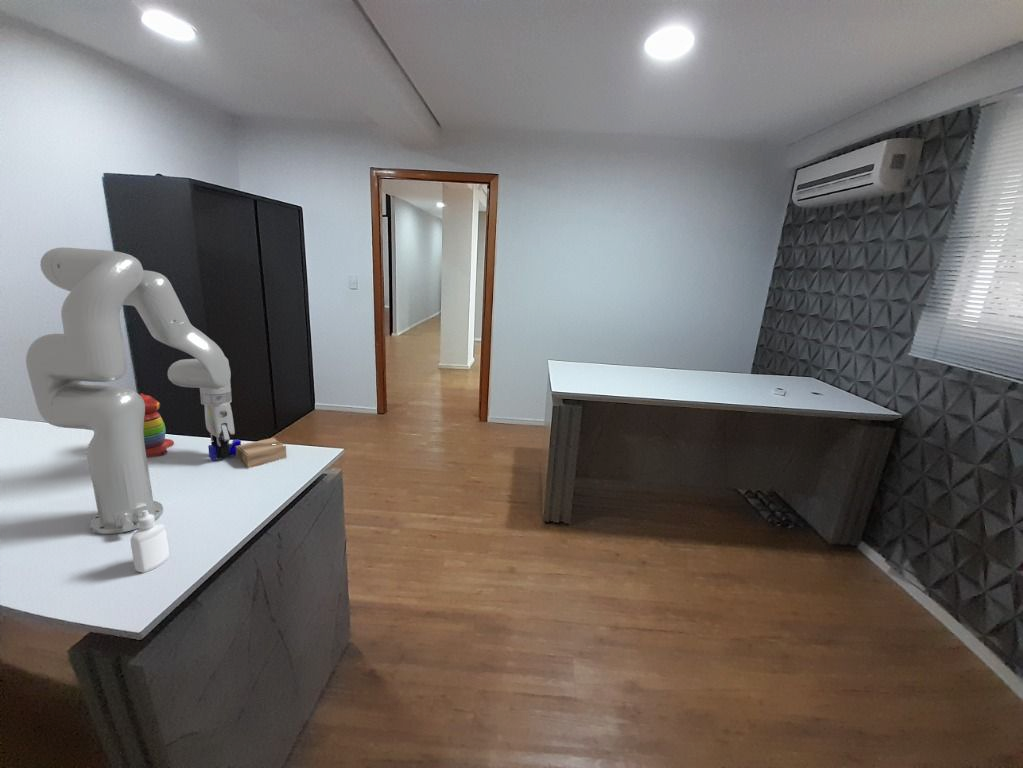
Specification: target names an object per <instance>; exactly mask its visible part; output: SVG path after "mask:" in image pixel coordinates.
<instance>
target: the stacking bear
mask: <svg viewBox="0 0 1023 768" xmlns="http://www.w3.org/2000/svg"><path fill="white" fill-rule="evenodd" d="M139 395H140V396H141V397H142V399H143V400H144V403H145V415H144V424H143V434H144V444H145V451H146V457H147V458H153V457H156V458H157V457H161V456H165V455H166V454H167V453H168V450H167V449H168V448H171V447H173V446H174V445H175V442H174V440H172V439H169V438H166V433H167V432H166V431H167V430H166V425H165V422H164V420H163V418H162V417H161V414H160V413H159V412H158V410H159V409H160V407H161V403H160V402H159V401H158V400H156V398H154V397H152V396H151V395H147V394H144V393H139Z"/></svg>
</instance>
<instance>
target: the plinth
mask: <svg viewBox="0 0 1023 768" xmlns="http://www.w3.org/2000/svg"><path fill="white" fill-rule="evenodd" d="M272 444H276V445H272ZM283 445H285V444H284V443H282V442H281V441H279V440H278V439H276V438H275V437H270V438H266V439H261V440H258V441H252V442H248V443H244V444H241V445H239V446H235V447H236V454H235V456H236V459H237V460H238V462H240V463H241V464H242V465H243V466H245V468H247V469H250V468H255V467H258V466H262V465H265V464H264V463H266V464H269V463H268V462H270V463H273V462H276V460H277V461H280V460H279V459H281V460H283V458H284V459H287V458H286V457H287V446H286V445H285V446H283ZM272 461H273V462H272ZM261 464H262V465H261ZM257 465H258V466H257ZM254 466H255V467H254Z"/></svg>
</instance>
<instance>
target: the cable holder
mask: <svg viewBox="0 0 1023 768" xmlns="http://www.w3.org/2000/svg"><path fill="white" fill-rule="evenodd" d="M239 445H242V442H241V440H240V439H239V438H236V439H233V440H232V442H231V443H229V449H230V456H234V455H235V456H236V447H235V446H239ZM207 447H208V456H209V459H210V460H211V461H214V460H217V459H218V458H217V449H216V445H214V444H213V445H211V444H209V445H207ZM230 456H229V457H230ZM218 460H219V459H218Z"/></svg>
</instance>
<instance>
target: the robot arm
mask: <svg viewBox="0 0 1023 768" xmlns="http://www.w3.org/2000/svg"><path fill="white" fill-rule="evenodd" d="M39 263H40V270H41V272H42V275H43V276H44V277H45V278H46V279H47V280H48V281H49V282H50V283H51V284H52V285H54V286H56V287H58V288H60V289H62V290H65V291H67V292H69V293H68V295H67V296H66V298H65V299H64V301H63V303H62V306H61V310H60V312H61V314H60V315H61V316H60V317H61V321H62V330H63V333H49V334H44V335H43V336H42V335H41V336H39V337H38V338H37V339H35V340H34V341H32V343H31V344H30V345H29V347H28V349H27V352H26V356H25V364H26V371H27V374H28V377H29V382H30V385H31V388H32V393H33V397H34V400H35V403H36V407H37V410H38V413H39V415H40V416H41V417H42V419H43V421H45V422H46V423H48V424H50V425H51V426H53V427H58V428H62V429H63V428H66V429H77V430H79V429H80V430H87V431H93V436H92V438H91V440H90V441H89V444H88V446H87V448H86V458H87V463H88V467H89V473H90V479H91V482H92V489H93V493H94V497H95V499H94V500H95V503H96V510H97V514H96V515H95V516H94V517H92V519H91V520H90V523H89V525H90V530H91V531H92V532H94V533H98V534H102V535H114V534H120V533H126V532H127V533H128V532H132V531H134V530H138V529H139V524H138V518H139V517H141V516H142V512H143V511H144V510H147V511H148V513H149V514H153V515H154V519H155V521H156V520H157V519H158V518H160V517H161V515H163V512H164V507H163V504H162V503H161V502H159V501H156V500H154V498H153V491H152V483H151V478H150V470H149V465H148V459H147V458H148V457H146V451H145V444H144V434H143V424H144V415H145V403H144V400H143V399H142V397H141V396H140V393H138V392H137V391H134V390H132V389H129V388H126V387H121V386H113V385H101V384H100V385H99V384H98V385H97V384H93V385H92V384H84V382H92V383H93V382H94V383H97V382H98V383H107V382H110V383H111V382H115V381H119V380H120V379H122V378H123V376H124V375H126V373H127V370H128V359H127V358H128V357H127V353H126V348H125V347H126V346H125V343H124V341H125V340H124V336H123V331H122V327H121V326H122V325H121V317H120V315H121V309H122V307H123V306H133V307H134V308H135V309H136V311H137V313H138V314H139V316H140V317H141V319H142V321H143V323H144V324H145V326H146V328H147V329H148V332H149V334H150V335H151V336H152V337H153V338H154V339H155V340H156V341H158V342H160V343H162V344H164V345H166V346H169V347H171V348H174V349H177V350H179V351H181V352H184V353H186V354H188V355H190V356H192V357H193V358H185V359H179V360H177V361H175V362H173V363H172V364H170V366H169V367H168V369H167V378H168V380H169V381H170V382H171V383H172V384H173V385H175V386H179V387H184V388H193V389H194V388H197V389H198V388H199V392H200V393H199V396H200V404H201V405H202V406H204V419H205V427H206V430H207V431H208V432H209V434H210V441H211V442H210V445H213V444H214V445H216V449H217V458H218V460H220V459H225V458H229V457H230V449H229V444H230V441H231V438H230V435H231V436H233V435H235V432H236V431H235V424H234V417H233V411H232V406H231V403H232V402H233V401H232V399H233V398H232V387H231V385H232V384H231V376H232V375H231V374H232V373H231V368H230V363H229V359H228V358H227V357H226V356H225V354H224V352H223V350H222V348H221V347H220V346H219V345H218V344H217V343H216V342H215V341H214V340H213V339H211V338H210V337H209V336H207V335H206V334H205V333H203V332H202V331H201V330H200V329H198V328H196V327H195V326H193V325H192V324H191V322H190V320H189V318H188V315H187V314H186V312H185V309H184V308H183V306H182V303H181V301H180V299H179V297H178V295H177V293H176V291H175V290H174V288H173V286H172V283H171V282H170V280H169V279H168V277H166V276H165V275H163V274H162V273H160V272H157V271H153V270H146V269H144V268H143V266H142V263H141V262H140V260H139V259H138V258H136V257H134V256H133V255H131V254H128V253H124V252H120V251H116V250H115V251H114V250H108V249H107V250H105V249H96V248H95V249H94V248H93V249H91V248H79V247H78V248H77V247H65V246H64V247H55V248H52V249H50V250H47V251H46V252H45V253H44V254H43V255H42V257H41V259H40V262H39Z"/></svg>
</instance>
